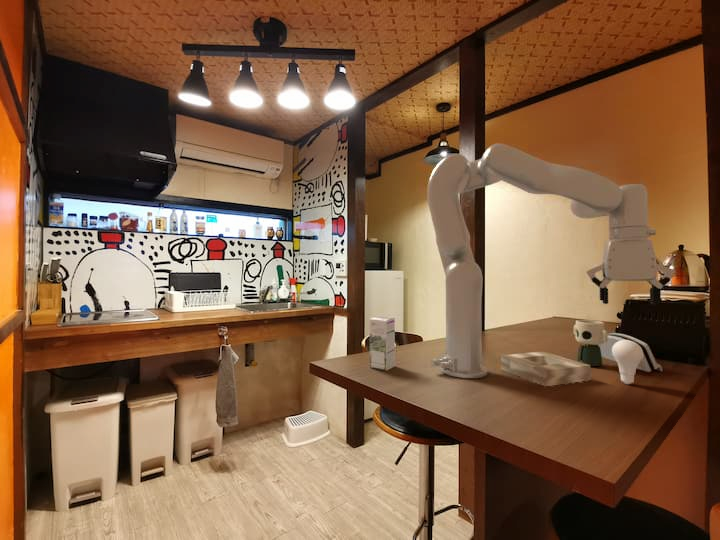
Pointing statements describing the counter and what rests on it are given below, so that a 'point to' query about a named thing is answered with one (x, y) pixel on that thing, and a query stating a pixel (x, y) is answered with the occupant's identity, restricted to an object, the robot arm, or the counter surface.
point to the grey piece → (647, 358)
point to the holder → (545, 368)
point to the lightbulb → (627, 358)
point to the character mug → (590, 341)
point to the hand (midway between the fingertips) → (629, 304)
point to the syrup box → (382, 343)
